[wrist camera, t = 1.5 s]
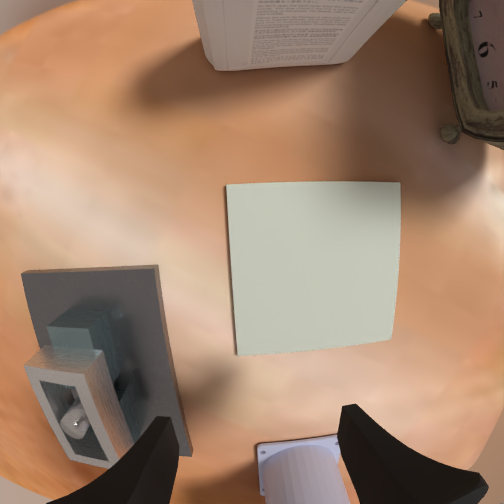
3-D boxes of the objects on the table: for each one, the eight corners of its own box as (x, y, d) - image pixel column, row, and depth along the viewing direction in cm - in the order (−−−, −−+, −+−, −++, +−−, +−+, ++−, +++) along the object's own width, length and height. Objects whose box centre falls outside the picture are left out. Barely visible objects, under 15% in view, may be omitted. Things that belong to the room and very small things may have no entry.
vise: (193, 449, 24) (183, 510, 17) (83, 436, 24) (57, 484, 16) (158, 264, 20) (117, 304, 13) (27, 270, 20) (-32, 299, 13)
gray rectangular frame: (135, 445, 19) (125, 471, 16) (82, 436, 19) (69, 459, 16) (102, 350, 17) (83, 374, 14) (45, 344, 17) (23, 364, 14)
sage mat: (388, 337, 22) (390, 339, 22) (237, 353, 22) (237, 356, 21) (397, 182, 20) (400, 182, 19) (226, 184, 19) (226, 184, 19)
